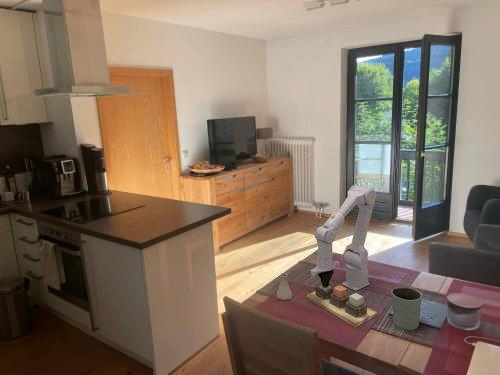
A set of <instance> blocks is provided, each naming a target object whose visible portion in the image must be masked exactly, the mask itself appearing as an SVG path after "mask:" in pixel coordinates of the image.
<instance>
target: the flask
mask: <svg viewBox="0 0 500 375" xmlns="http://www.w3.org/2000/svg"><path fill="white" fill-rule="evenodd" d="M288 277H289V275H288V273H285V272H283V273H280V283H279V286H278V289H277V291H276V295H275V296H276V299H277V300H281V301H290V300H292V298H294V296H293V293H292V291H291V288H290V285H289V282H288Z"/></svg>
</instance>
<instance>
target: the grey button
mask: <svg viewBox="0 0 500 375" xmlns="http://www.w3.org/2000/svg"><path fill="white" fill-rule="evenodd" d="M363 302H364V296H363V295H361V294H359V293H356V292H355V293H352V294H351V296H349V303H350V304H351V305H353V306H355V307H358V306H360V305H362V304H363Z"/></svg>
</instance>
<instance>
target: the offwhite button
mask: <svg viewBox="0 0 500 375" xmlns="http://www.w3.org/2000/svg"><path fill="white" fill-rule="evenodd" d="M331 286H332V285H331ZM331 286H328V287H327V288H325V287H323V286H322V285H321V286H319V288H320V289H322V290H324V291H327V290H329V289H331V288H332V287H331Z"/></svg>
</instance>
